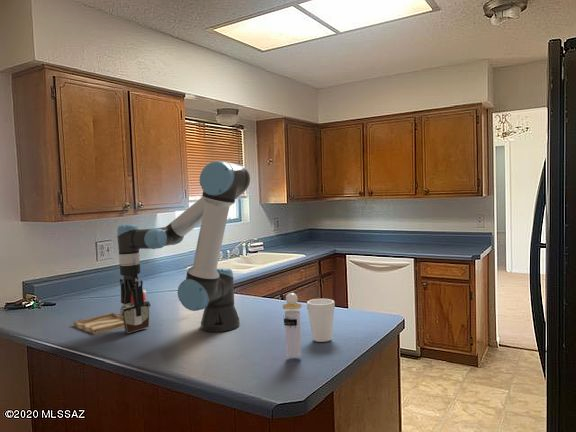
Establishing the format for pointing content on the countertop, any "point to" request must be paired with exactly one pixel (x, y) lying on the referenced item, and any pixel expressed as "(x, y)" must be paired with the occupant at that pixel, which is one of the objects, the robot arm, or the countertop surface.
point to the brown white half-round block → (129, 317)
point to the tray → (101, 323)
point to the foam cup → (321, 318)
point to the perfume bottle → (292, 326)
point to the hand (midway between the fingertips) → (133, 323)
